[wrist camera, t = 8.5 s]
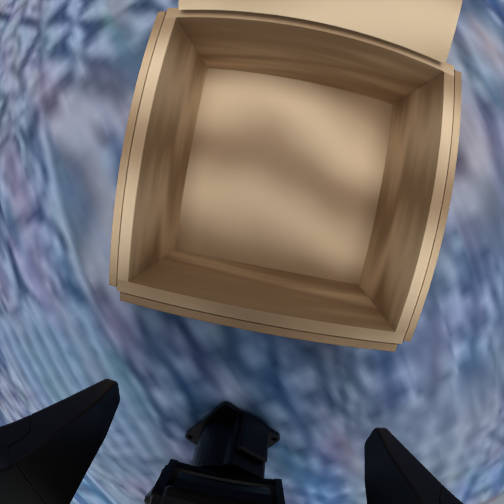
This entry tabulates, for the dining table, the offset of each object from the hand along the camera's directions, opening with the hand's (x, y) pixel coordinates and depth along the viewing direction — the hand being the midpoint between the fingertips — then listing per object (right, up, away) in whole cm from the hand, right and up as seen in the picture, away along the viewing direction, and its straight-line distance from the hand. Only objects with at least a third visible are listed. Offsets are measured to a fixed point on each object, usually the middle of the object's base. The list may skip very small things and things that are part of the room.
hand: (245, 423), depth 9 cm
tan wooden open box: (+2, +11, +11) cm, 15 cm away
